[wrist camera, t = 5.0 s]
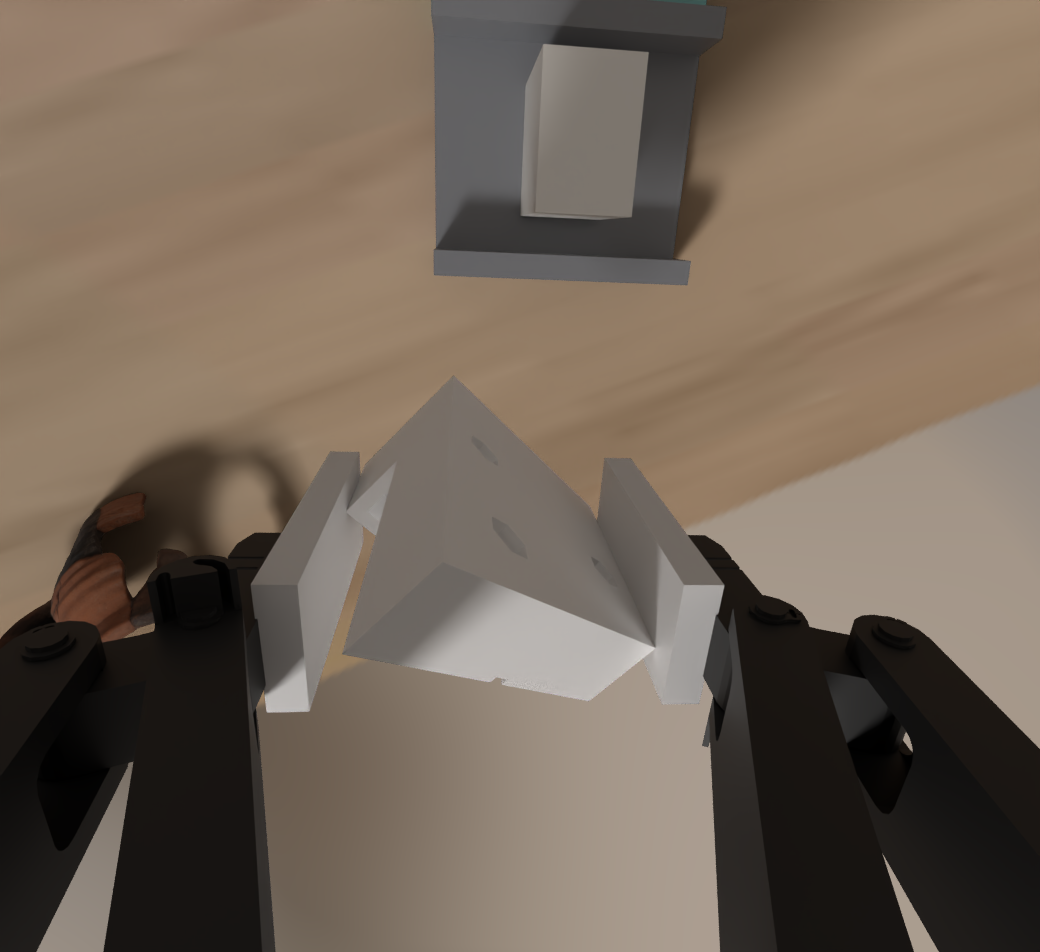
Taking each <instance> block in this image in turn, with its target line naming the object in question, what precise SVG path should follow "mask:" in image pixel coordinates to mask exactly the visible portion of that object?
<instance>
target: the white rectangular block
mask: <svg viewBox="0 0 1040 952" xmlns="http://www.w3.org/2000/svg"><path fill="white" fill-rule="evenodd" d="M648 54H649V52H640V51H627V50H615V49H602V48H589V47H576V46H564V45H551V44H543V46H542V49H541V51H540V53H539V55H538V58H537V60H536V62H535V65H534V67H533V69H532V72H531V74H530V76H529V79H528V81H527V83H526V87H525V112H524V137H523V162H522V187H521V212H520V216H527V217H547V218H567V219H587V220H603V219H615V218H627V217H632V208H633V199H634V189H635V179H636V170H637V160H638V150H639V141H640V131H641V122H642V112H643V102H644V93H645V83H646V73H647V64H648Z"/></svg>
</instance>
